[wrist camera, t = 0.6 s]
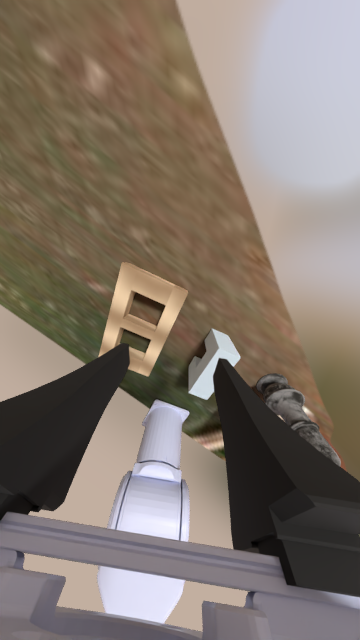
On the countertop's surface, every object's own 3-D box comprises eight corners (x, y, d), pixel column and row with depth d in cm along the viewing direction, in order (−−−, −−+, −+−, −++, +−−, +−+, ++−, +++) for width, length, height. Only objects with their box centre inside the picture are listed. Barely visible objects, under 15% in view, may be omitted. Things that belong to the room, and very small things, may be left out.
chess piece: (251, 394, 25) (300, 493, 14) (258, 371, 23) (322, 466, 12) (283, 396, 25) (358, 498, 14) (293, 373, 23) (391, 471, 12)
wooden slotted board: (151, 368, 25) (148, 376, 23) (105, 350, 24) (98, 357, 22) (188, 290, 19) (187, 293, 17) (128, 263, 18) (122, 262, 16)
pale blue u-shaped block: (203, 372, 24) (207, 399, 19) (188, 366, 24) (188, 392, 19) (228, 335, 21) (240, 357, 16) (211, 328, 21) (219, 348, 16)
